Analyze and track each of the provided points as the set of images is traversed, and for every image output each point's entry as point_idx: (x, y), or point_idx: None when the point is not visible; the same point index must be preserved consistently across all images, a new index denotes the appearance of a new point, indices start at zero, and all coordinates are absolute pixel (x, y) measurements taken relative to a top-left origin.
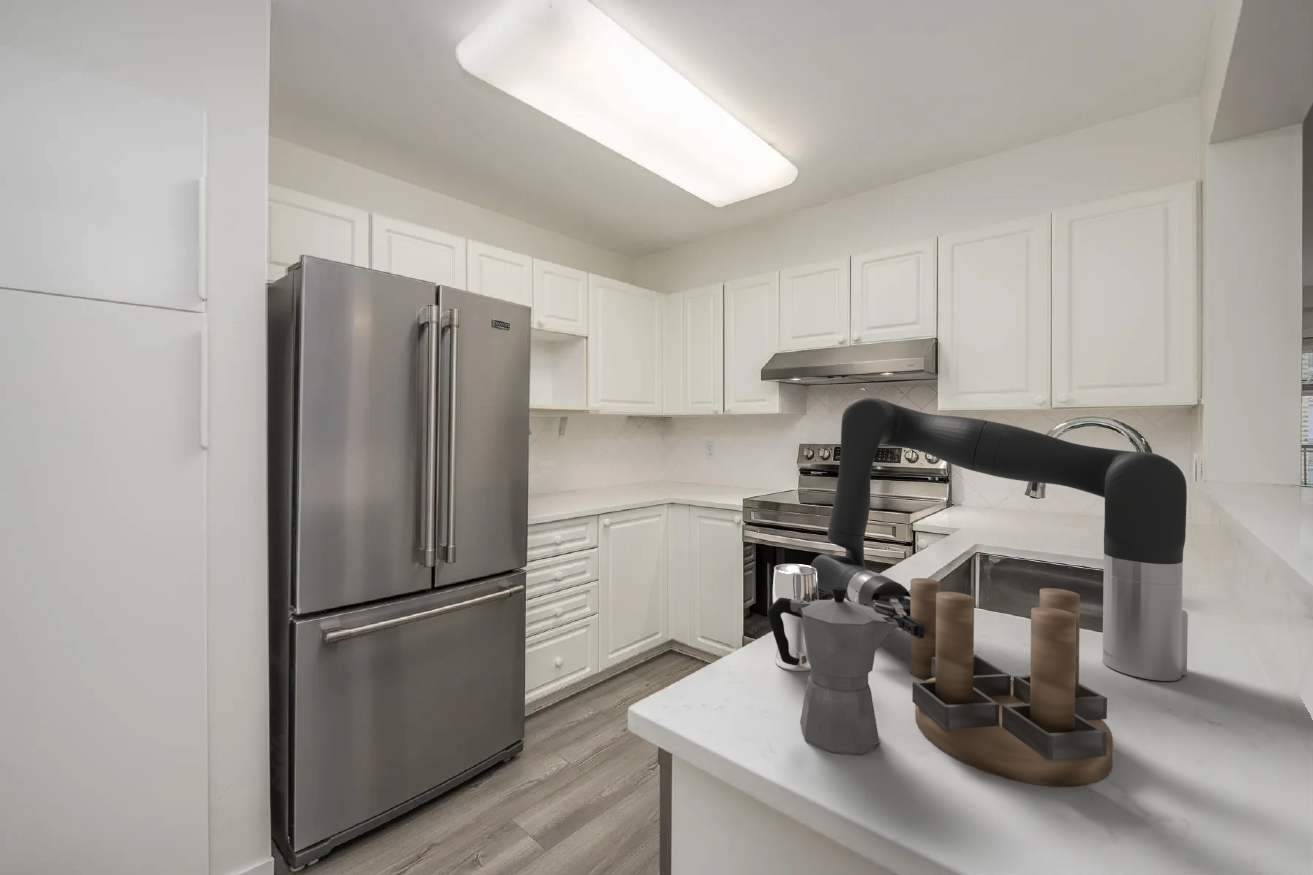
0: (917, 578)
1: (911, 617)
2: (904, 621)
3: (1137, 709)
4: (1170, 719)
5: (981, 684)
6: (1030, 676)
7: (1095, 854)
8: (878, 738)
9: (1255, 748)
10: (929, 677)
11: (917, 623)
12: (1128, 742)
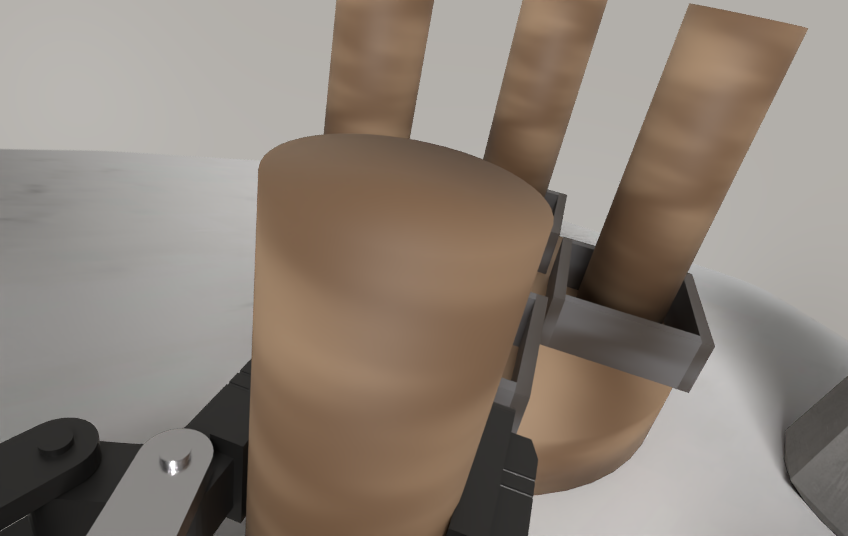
0: (372, 236)
1: (466, 498)
2: (525, 532)
3: (62, 244)
4: (78, 217)
5: None
6: (554, 141)
7: (587, 234)
8: (792, 425)
9: (123, 170)
10: None
11: (513, 417)
12: None
